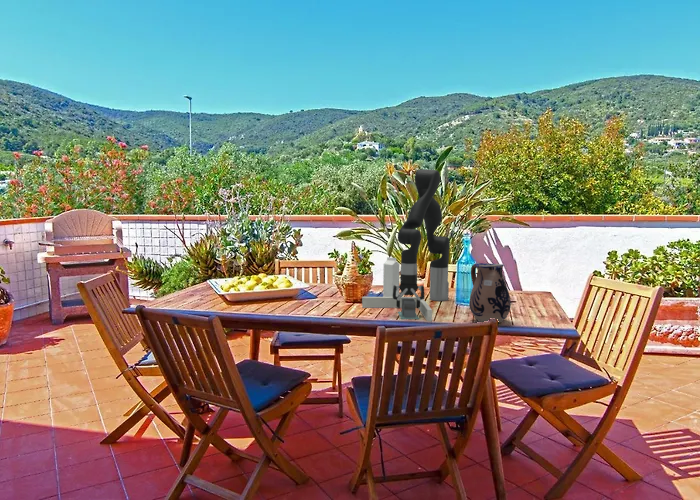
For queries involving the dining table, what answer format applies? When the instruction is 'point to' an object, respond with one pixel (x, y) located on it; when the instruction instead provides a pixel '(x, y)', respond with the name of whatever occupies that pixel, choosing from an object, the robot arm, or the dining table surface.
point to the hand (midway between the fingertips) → (408, 308)
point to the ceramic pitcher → (489, 293)
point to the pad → (406, 318)
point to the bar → (408, 307)
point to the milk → (390, 277)
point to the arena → (391, 303)
